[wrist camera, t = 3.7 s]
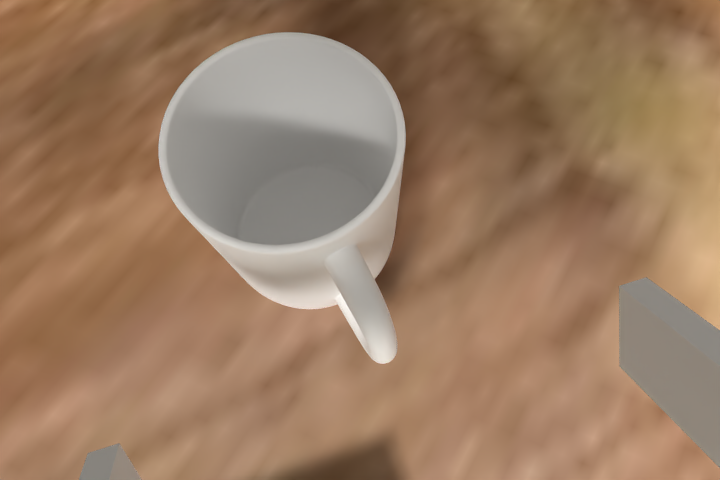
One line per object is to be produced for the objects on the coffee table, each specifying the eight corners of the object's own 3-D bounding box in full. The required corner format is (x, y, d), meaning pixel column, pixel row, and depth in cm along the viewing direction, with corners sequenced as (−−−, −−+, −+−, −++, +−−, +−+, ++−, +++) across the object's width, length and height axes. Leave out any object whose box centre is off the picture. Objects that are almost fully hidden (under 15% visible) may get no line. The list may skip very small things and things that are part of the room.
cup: (348, 135, 29) (336, -3, 20) (462, 330, 26) (515, 280, 16) (208, 201, 28) (122, 90, 18) (307, 414, 25) (265, 414, 15)
